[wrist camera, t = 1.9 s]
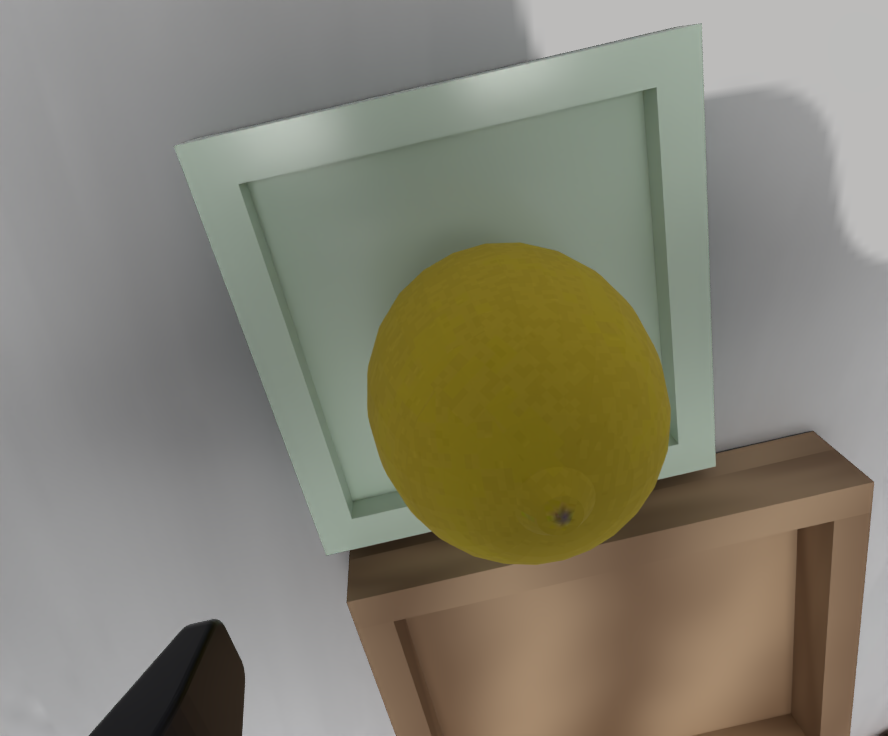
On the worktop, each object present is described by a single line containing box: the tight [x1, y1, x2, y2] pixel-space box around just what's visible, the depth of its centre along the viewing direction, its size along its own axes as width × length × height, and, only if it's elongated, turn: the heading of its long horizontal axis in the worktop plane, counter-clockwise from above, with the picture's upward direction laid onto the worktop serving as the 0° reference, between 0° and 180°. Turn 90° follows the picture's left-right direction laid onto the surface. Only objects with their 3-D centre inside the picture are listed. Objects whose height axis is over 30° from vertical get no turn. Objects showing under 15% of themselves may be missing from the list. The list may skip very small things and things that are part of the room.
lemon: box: [367, 242, 671, 565], centre depth 13 cm, size 6×6×8 cm
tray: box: [347, 431, 874, 736], centre depth 21 cm, size 14×12×3 cm
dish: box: [174, 24, 716, 556], centre depth 16 cm, size 11×11×1 cm
